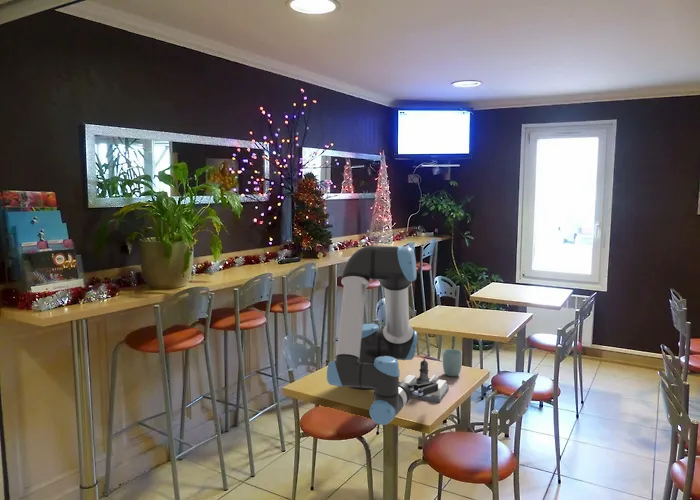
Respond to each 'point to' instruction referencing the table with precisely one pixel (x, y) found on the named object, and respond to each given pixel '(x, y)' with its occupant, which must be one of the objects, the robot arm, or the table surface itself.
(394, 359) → the robot arm
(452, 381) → the table surface
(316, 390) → the table surface
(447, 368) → the cup
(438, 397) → the rail board
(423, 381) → the salt shaker
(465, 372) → the table surface
